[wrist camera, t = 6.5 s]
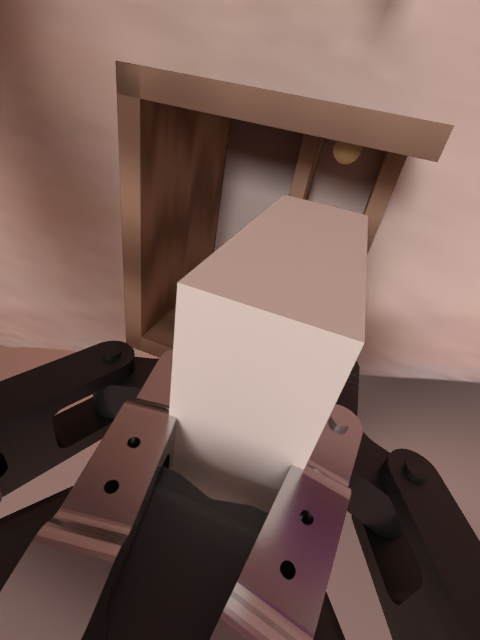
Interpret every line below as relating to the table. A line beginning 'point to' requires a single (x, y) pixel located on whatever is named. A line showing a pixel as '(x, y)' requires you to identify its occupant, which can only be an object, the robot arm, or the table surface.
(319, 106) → the cabinet
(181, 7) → the table surface
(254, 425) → the door
